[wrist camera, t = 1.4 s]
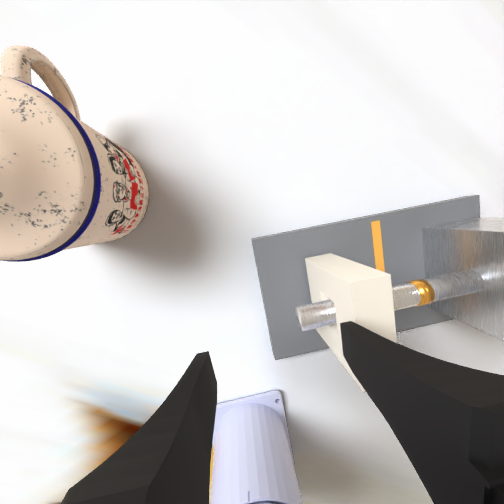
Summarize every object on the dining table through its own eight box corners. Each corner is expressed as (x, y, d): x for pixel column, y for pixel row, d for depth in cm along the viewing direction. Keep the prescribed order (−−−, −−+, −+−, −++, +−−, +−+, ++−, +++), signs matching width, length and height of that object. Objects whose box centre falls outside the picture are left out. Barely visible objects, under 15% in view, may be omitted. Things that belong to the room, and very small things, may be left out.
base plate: (470, 307, 25) (483, 312, 24) (273, 353, 24) (275, 360, 22) (466, 196, 23) (480, 194, 22) (251, 238, 22) (252, 239, 21)
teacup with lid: (156, 243, 21) (68, 272, 10) (50, 245, 20) (-185, 279, 9) (146, 100, 19) (23, -71, 8) (29, 96, 19) (-297, -100, 7)
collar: (340, 324, 22) (400, 383, 14) (315, 329, 22) (363, 392, 14) (330, 253, 21) (390, 274, 13) (304, 258, 21) (350, 283, 13)
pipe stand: (472, 296, 23) (648, 352, 14) (291, 337, 22) (339, 431, 12) (470, 217, 22) (661, 217, 12) (278, 257, 21) (319, 291, 11)
